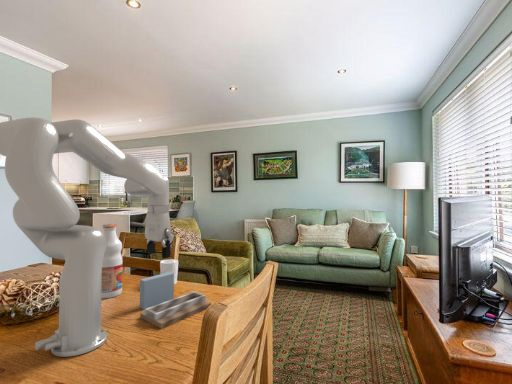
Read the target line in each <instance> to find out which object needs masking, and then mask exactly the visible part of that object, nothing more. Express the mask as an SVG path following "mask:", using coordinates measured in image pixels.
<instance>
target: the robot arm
mask: <svg viewBox="0 0 512 384" xmlns="http://www.w3.org/2000/svg"><path fill="white" fill-rule="evenodd" d="M63 153H73V154H76V155H77V156H78V157H80V158H82V159H83V160H84V161H85V162H87V163H89V164H90V165H91V166H92V167H94V168H96V169H97V170H98V171H99V172H101V173H103V174H106V175H109V176H113V177H117V178H123V179H126V180H125V181H124V185H123V187H124V190H125V192H126V193H127V194H128V195H129V196H132V197H137V198H138V197H141V198H143V197H144V198H145V197H147V214H146V216H145V217H146V218H145V226H144V227H145V230H144V237H145V240H146V241H145V243H146V254H147V255H153V254H156V242H157V243H159V242H161V245H162V247H161V258H162V260H165V259H167V258H168V259H169V258H171V256H172V255H171V254H172V253H171V252H172V251H171V249H172V248H171V247H172V244H173V242H174V238H175V235H174V234H173V233H172V232H171V219H170V218H171V217H170V179H169V178H168V177H167V176H164V175H163V174H161V172H160V171H158V170H157V169H156V168H155V167H154V166H152V165H151V164H150V163H148V162H146V161H144V160H141V159H139V158H137V157H135V156H133V155H131V154H130V153H127V152H124V151H123V150H121V149H120V148H119V147H118V146H116V145H115V144H114V143H113V142H112V141H110V140H109V139H108V138H107V137H106V136H105V135H103V134H102V132H100V131H99V130H97V128H95V127H94V126H93V125H92V124H91V123H89V122H88V121H85V120H83V119H80V118H79V119H75V118H73V119H66V120H61V121H60V120H59V121H54V122H50V121H49V120H48V119H44V118H42V117H32V116H31V117H25V118H24V117H23V118H19V119H18V118H17V119H13V120H7V121H2V122H0V155H1V156H3V157H5V161H4V162H5V163H4V174H5V178H6V181H7V183H8V185H9V186H10V189H12V191H13V192H14V193H15V195H16V196H17V198H18V199H17V200H16V202H15V203H14V205H13V207H12V218H13V220H14V223H15V224H16V225H17V227H18V229H19V230H20V231H21V232H22V233H23V234H24V235H25V236H26V237H27V239H29V241H30V242H31V243H32V244H33V245H34V246H35V247H36V248H37V249H38V250H39V251H40V252H41V253H42V254H43V255H45V256H46V257H49V258H51V259H56V260H62V261H63V260H64V261H65V262H64V265H63V267H62V269H61V273H60V276H59V282H58V283H59V285H58V289H59V292H58V294H59V295H58V296H59V297H58V298H59V300H58V301H59V302H58V329H56V330H54V334H53V335H51V336H50V337H48V338H45V339H41V340H39V341H36V342H35V343H34V349H35V351H39V350H42V349H44V351H49V350H50V352H51V354H52V355H54V356H55V357H59V358H60V357H63V358H66V357H74V356H79V355H83V354H86V353H89V352H91V351H94V350H95V349H97V348H99V347H100V346H102V345H103V344H104V343H105V342H106V341H107V339H108V331H107V330H106V329H104V328H102V298H101V276H102V262H103V257H104V252H105V248H106V239H105V236H104V234H103V233H104V232H103V231H101V230H100V229H99V228H97V227H94V226H90V225H79V224H77V223H78V222H79V221H80V216H81V215H80V214H81V212H80V209H79V207H78V205H77V203H76V202H75V201H74V199H73V197H71V195H70V194H69V192H68V191H67V190H66V188H65V187H64V185H63V184H62V183H61V181H60V180H59V178H58V176H57V175H56V173H55V171H54V167H53V159H54V155H55V154H56V155H57V154H63Z"/></svg>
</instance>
